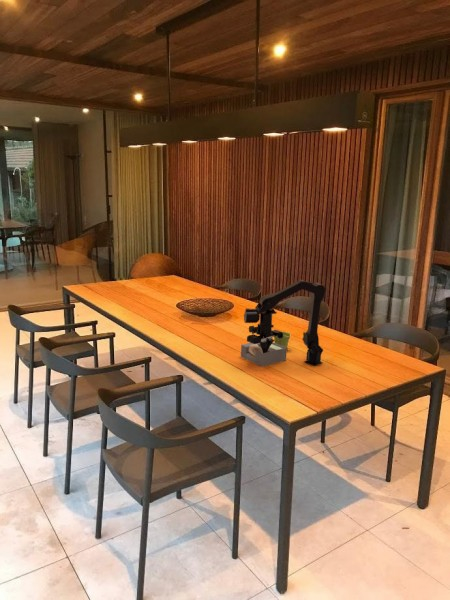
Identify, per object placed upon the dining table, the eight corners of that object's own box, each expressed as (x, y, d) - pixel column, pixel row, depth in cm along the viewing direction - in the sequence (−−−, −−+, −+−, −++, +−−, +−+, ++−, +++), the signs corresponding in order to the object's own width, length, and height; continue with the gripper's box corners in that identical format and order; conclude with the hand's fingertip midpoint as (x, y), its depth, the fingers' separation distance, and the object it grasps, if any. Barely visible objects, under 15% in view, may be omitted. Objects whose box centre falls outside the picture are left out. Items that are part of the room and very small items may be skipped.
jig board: (286, 360, 239) (286, 347, 237) (261, 366, 229) (262, 353, 228) (264, 351, 251) (265, 339, 249) (240, 357, 241) (241, 344, 240)
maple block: (266, 359, 234) (267, 353, 232) (259, 360, 231) (261, 354, 230) (254, 349, 240) (256, 343, 238) (248, 351, 238) (249, 345, 236)
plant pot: (292, 349, 256) (293, 333, 254) (285, 354, 248) (286, 338, 246) (276, 345, 260) (277, 330, 258) (269, 350, 252) (270, 334, 250)
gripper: (268, 316, 239) (267, 345, 243) (239, 321, 228) (238, 352, 232) (284, 321, 231) (283, 351, 234) (255, 327, 220) (254, 359, 223)
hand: (264, 353), depth 231 cm, fingers closed, pressing on maple block
